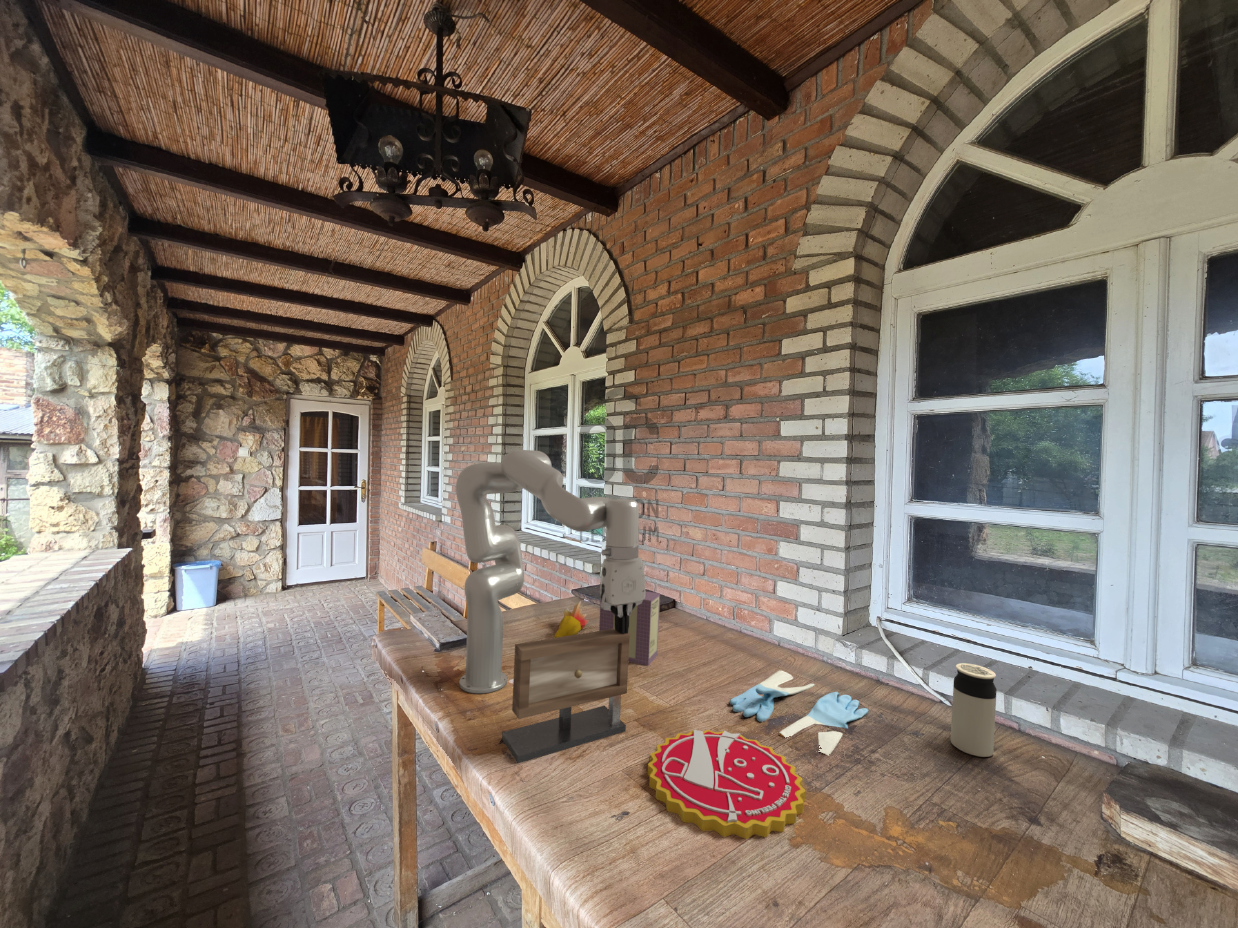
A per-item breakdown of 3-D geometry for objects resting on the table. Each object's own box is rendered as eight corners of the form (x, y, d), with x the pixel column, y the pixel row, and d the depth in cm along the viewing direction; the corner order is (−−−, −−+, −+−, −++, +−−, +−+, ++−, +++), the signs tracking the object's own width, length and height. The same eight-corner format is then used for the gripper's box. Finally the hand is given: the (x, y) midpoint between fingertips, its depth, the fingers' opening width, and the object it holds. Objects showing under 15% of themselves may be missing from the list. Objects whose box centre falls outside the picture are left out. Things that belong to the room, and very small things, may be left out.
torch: (554, 659, 164) (576, 624, 188) (574, 651, 162) (594, 617, 186) (542, 637, 163) (566, 605, 188) (563, 628, 161) (584, 597, 186)
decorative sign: (658, 719, 117) (793, 739, 111) (657, 730, 117) (792, 751, 111) (637, 806, 88) (818, 840, 82) (636, 821, 88) (818, 856, 82)
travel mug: (980, 761, 109) (985, 679, 109) (943, 742, 116) (947, 665, 116) (1000, 753, 113) (1004, 673, 113) (962, 734, 120) (966, 660, 120)
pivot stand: (501, 738, 111) (504, 666, 111) (604, 711, 124) (606, 647, 124) (517, 763, 102) (520, 685, 102) (625, 731, 116) (628, 662, 116)
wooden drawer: (512, 710, 106) (515, 644, 105) (617, 686, 119) (620, 627, 119) (519, 720, 102) (522, 651, 102) (628, 694, 115) (631, 633, 115)
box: (657, 655, 161) (659, 593, 161) (648, 665, 153) (650, 600, 152) (609, 645, 167) (611, 586, 167) (598, 655, 159) (600, 592, 159)
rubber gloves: (875, 708, 133) (876, 684, 133) (827, 759, 109) (829, 730, 109) (777, 674, 152) (778, 653, 151) (718, 711, 128) (719, 686, 128)
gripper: (602, 558, 109) (601, 643, 109) (658, 552, 117) (657, 631, 117) (585, 553, 115) (585, 633, 115) (639, 547, 123) (639, 622, 123)
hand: (621, 632), depth 116 cm, fingers closed
